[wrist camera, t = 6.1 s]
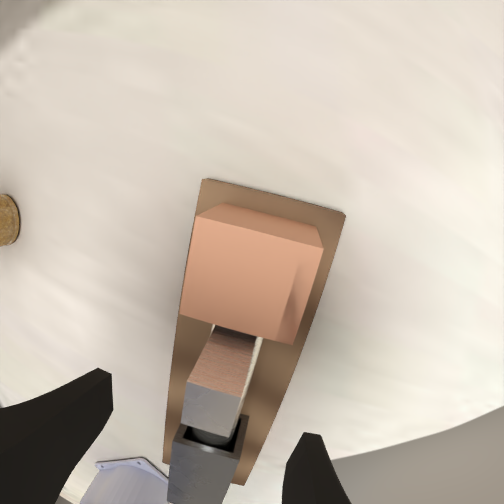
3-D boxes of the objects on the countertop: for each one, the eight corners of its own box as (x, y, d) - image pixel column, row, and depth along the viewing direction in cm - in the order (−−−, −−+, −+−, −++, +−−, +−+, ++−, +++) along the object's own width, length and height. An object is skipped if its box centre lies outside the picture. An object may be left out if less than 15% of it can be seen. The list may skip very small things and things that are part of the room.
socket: (294, 301, 18) (292, 345, 13) (207, 278, 18) (179, 313, 14) (316, 226, 17) (323, 248, 12) (222, 202, 17) (195, 216, 13)
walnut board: (245, 476, 25) (243, 485, 24) (166, 453, 25) (162, 462, 24) (342, 212, 18) (345, 215, 16) (207, 178, 18) (202, 179, 17)
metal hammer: (231, 438, 21) (208, 519, 13) (195, 427, 21) (163, 505, 14) (284, 260, 17) (274, 331, 9) (233, 246, 17) (186, 306, 10)
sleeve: (225, 480, 24) (216, 516, 19) (180, 466, 24) (166, 501, 20) (249, 415, 21) (239, 460, 17) (191, 399, 21) (172, 440, 17)
